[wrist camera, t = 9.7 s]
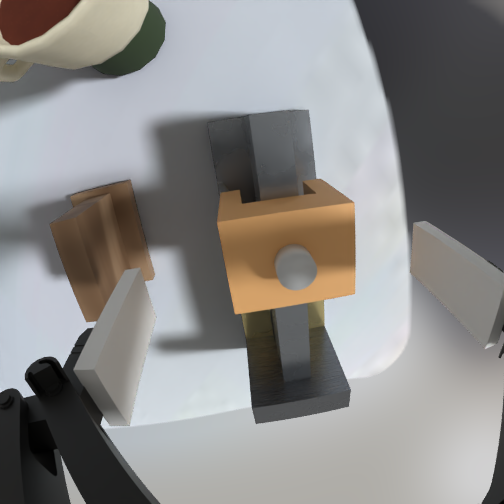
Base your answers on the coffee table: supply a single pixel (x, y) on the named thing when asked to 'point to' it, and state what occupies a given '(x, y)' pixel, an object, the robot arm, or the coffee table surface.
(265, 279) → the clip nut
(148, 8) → the character mug
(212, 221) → the coffee table surface
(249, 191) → the rail
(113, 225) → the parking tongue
